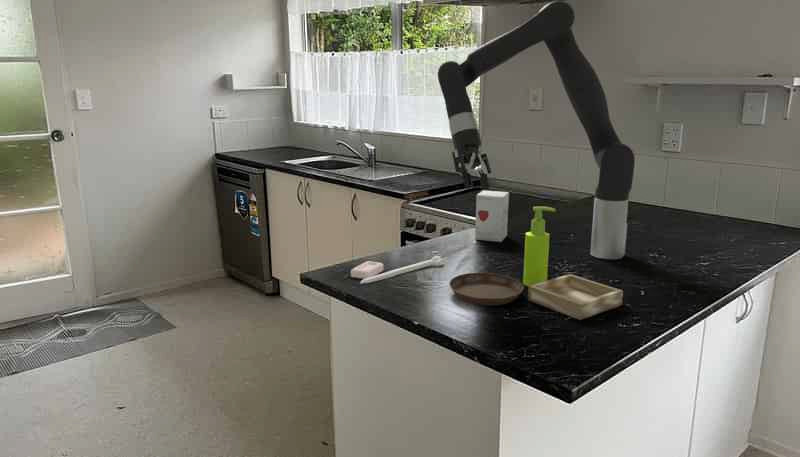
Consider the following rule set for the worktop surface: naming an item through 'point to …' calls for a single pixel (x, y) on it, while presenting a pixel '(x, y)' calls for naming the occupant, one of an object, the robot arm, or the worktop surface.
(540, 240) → the soap dispenser
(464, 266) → the worktop surface
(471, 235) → the worktop surface
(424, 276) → the worktop surface
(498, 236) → the supplement box
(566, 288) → the birch crate
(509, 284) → the plant saucer
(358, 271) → the soap bar
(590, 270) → the worktop surface
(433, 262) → the white ball-headed stick
